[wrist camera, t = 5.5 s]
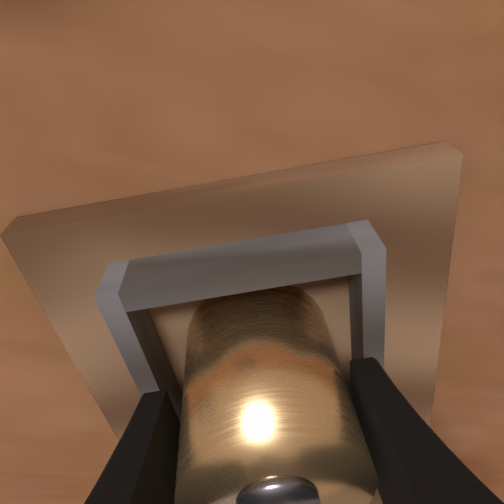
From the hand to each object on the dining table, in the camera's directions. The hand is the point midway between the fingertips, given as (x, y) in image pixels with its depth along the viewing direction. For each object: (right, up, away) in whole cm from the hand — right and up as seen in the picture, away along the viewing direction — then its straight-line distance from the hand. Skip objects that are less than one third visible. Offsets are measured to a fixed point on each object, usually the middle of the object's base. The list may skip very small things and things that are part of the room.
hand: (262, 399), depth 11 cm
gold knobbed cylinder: (0, +1, +2) cm, 2 cm away
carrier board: (0, -1, +5) cm, 5 cm away
